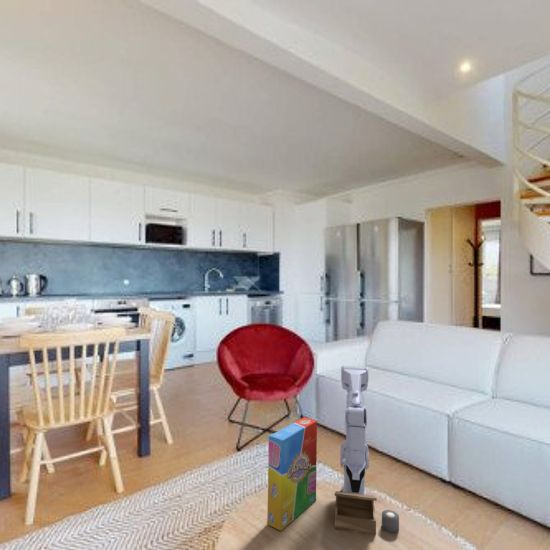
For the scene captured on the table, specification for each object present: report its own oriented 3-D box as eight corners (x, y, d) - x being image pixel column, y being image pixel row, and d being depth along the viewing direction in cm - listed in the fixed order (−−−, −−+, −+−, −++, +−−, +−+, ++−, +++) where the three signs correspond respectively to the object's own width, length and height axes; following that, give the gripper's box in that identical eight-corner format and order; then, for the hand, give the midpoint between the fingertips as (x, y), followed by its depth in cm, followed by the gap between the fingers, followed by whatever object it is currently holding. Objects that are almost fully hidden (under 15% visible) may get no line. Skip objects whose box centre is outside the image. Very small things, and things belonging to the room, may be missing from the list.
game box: (280, 532, 111) (281, 440, 111) (266, 524, 114) (267, 435, 114) (316, 499, 127) (317, 420, 128) (303, 494, 131) (304, 416, 131)
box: (336, 505, 124) (336, 493, 124) (373, 510, 122) (373, 497, 122) (334, 529, 112) (335, 515, 112) (376, 534, 110) (376, 521, 110)
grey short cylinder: (381, 521, 116) (381, 508, 116) (397, 524, 115) (397, 510, 115) (382, 532, 111) (382, 518, 111) (400, 535, 110) (400, 521, 110)
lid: (335, 493, 124) (335, 491, 124) (373, 497, 122) (373, 495, 122) (334, 495, 113) (334, 493, 114) (376, 500, 111) (376, 498, 111)
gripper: (342, 435, 122) (342, 477, 122) (342, 456, 108) (341, 503, 108) (364, 437, 121) (364, 479, 121) (367, 458, 107) (366, 506, 107)
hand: (355, 491), depth 114 cm, fingers closed
